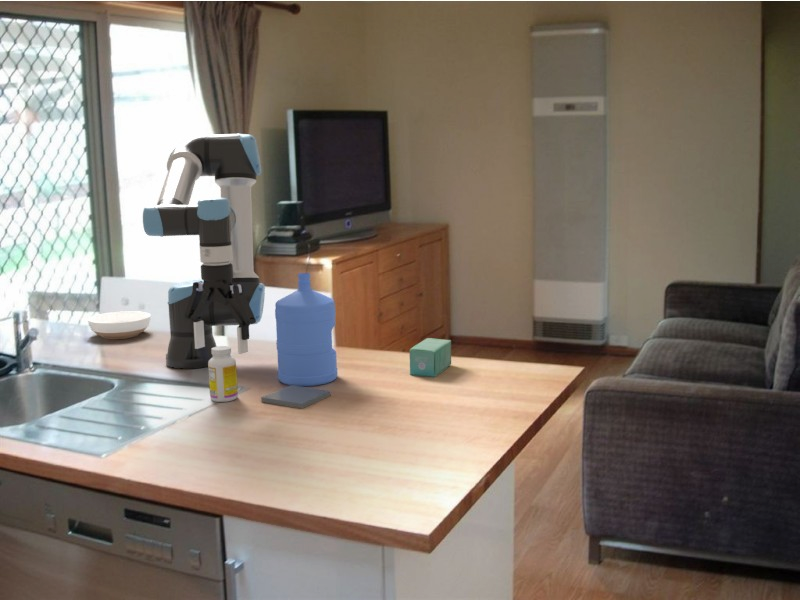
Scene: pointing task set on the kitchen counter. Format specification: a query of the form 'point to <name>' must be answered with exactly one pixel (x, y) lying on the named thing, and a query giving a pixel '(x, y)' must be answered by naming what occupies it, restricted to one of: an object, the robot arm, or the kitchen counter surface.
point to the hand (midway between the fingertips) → (221, 350)
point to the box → (430, 357)
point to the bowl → (119, 324)
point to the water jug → (305, 336)
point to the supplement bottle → (222, 375)
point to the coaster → (296, 396)
